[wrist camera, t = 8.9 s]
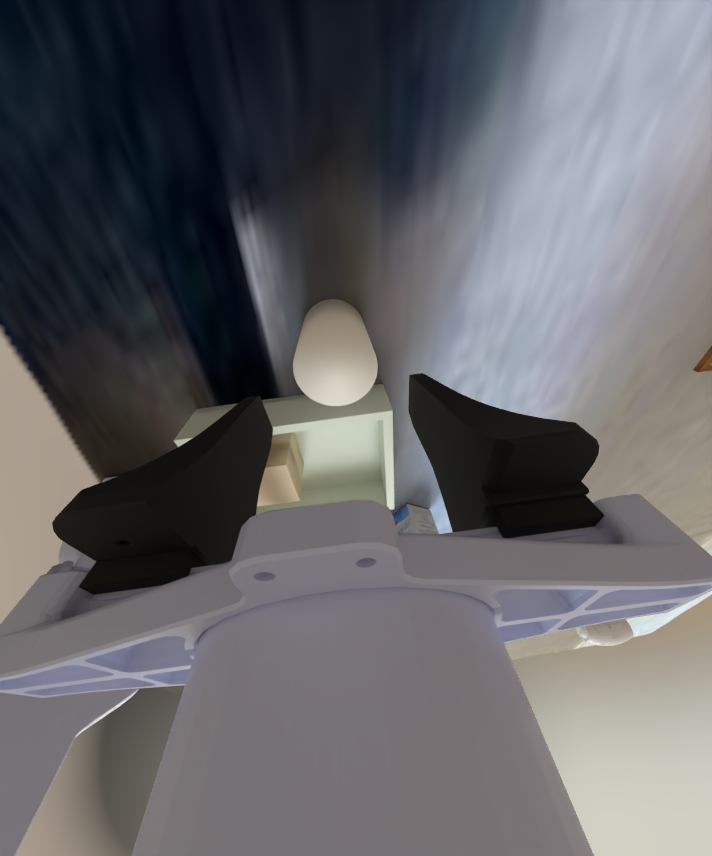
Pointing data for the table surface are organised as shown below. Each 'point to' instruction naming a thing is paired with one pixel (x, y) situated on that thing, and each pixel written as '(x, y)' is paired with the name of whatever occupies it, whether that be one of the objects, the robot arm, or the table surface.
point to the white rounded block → (606, 633)
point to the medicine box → (415, 520)
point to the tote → (328, 445)
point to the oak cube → (282, 472)
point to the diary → (705, 362)
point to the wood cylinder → (334, 355)
